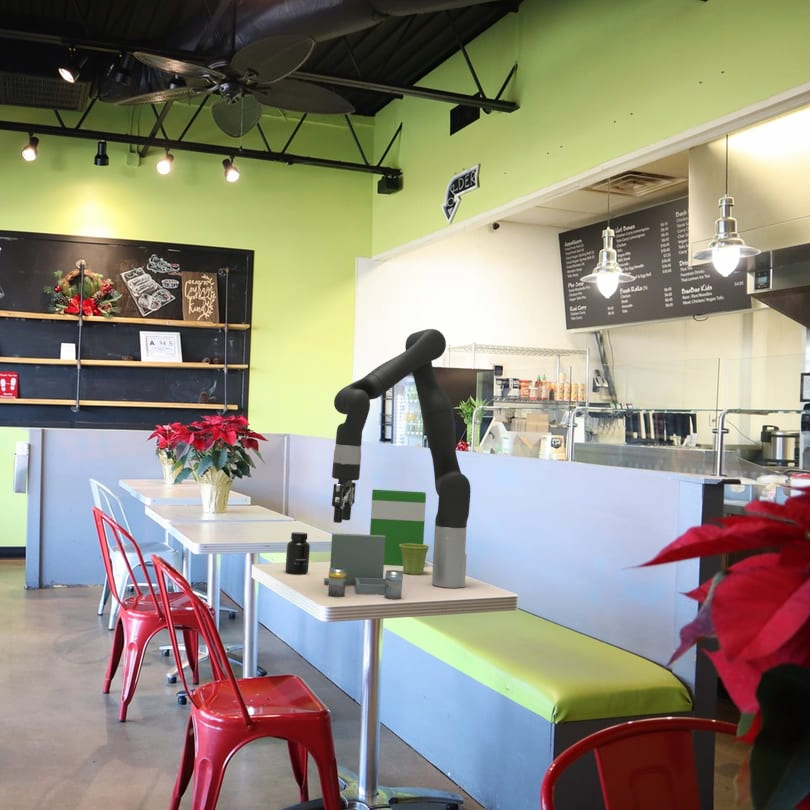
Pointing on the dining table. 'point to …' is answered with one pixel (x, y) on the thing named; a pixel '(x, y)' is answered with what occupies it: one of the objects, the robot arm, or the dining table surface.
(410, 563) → the plant pot
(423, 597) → the dining table surface
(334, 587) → the grey gold-banded metal jar
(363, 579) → the tray
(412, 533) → the hardback book
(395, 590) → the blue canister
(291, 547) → the supplement bottle
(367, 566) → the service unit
